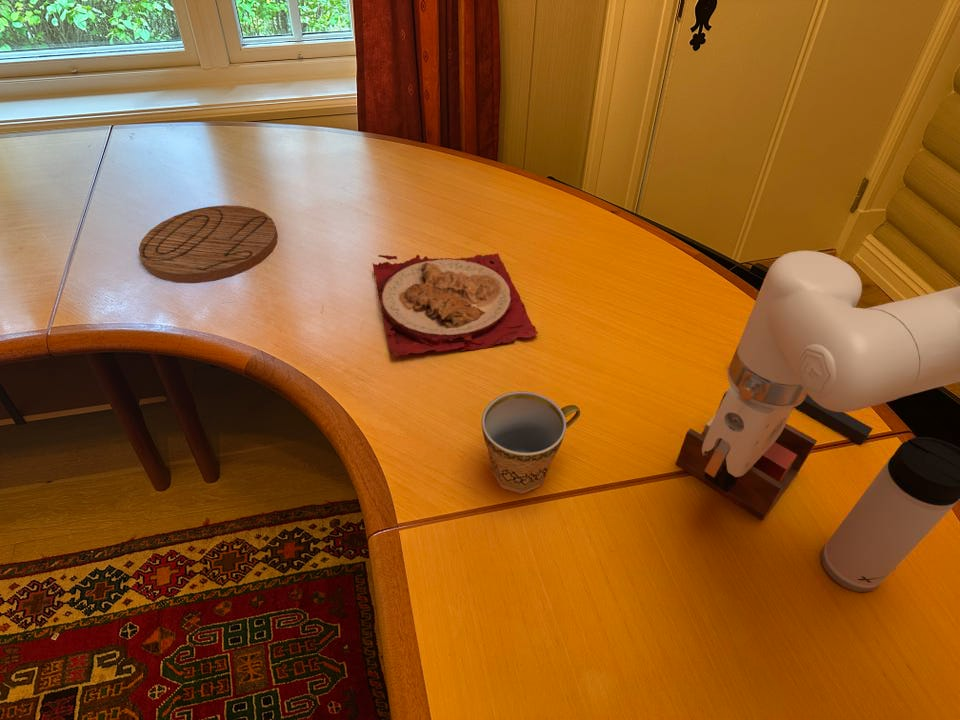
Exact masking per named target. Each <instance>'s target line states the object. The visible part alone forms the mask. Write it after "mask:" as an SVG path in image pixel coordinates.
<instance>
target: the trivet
mask: <svg viewBox="0 0 960 720" xmlns="http://www.w3.org/2000/svg"><path fill="white" fill-rule="evenodd" d="M278 236H279V234H278V229H277V227H276V224H275V222H274V220H273V218H272V217H270V216H269V215H268V214H267V213H265V212H264V211H261V210H259V209H256V208H253V207H248V206H243V205H230V204H229V205H228V204H224V205H213V206H204V207H201V208H196V209H195V208H194V209H191V210H187V211H185V212H182V213H178V214H176V215H173V216H171V217H170V218H168V219H165V220H163V221H161V222H160V223H157V225H155V226H154V227H152V228H151V229H150V230H149V231H147V233H146V234H145V235H144V237H143V238H142V239H141V241H140V243H139V246H138V253H139V258H140V260H141V263H142V264H143V266H144V268H145V269H146V270H147V271H148V272H149V274H151V275H153V276H155V277H157V278H159V279H161V280H165V281H169V282H174V283H186V284H187V283H188V284H195V283H196V284H198V283H205V282H214V281H218V280H222V279H225V278H226V279H227V278H230V277H233V276H236V275H239V274H241V273H243V272H246V271H249V270H250V269H252V268H253V267H256V266H257V265H259V264H261V263H262V262H263V261H265V260H266V259H267V258H268V257H269V256H270V255H271V254H272V253H273V251H274V250H275V248H276V246H277V244H278Z"/></svg>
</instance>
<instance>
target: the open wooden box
mask: <svg viewBox="0 0 960 720" xmlns="http://www.w3.org/2000/svg"><path fill="white" fill-rule="evenodd" d="M727 391H728V390H726V391H725V392H724V393H723V395H722V398H721V400H720V403H719V405H718V408H717V410H716V412H717V411H718V409H719V407H720V405H721V403H722V400H723V399H724V397H725V395H726V393H727ZM715 415H716V413H715V414H714V415H713V416H712V417H711V418H710V419H709V420H708V421H707V422H706V423H705V425H704V427H703V431H702V432H701V433H699V432H698V431H696V430H695V429H693V428H691V427H690V428H689V429H688V430H687V431H686V434H685V437H684V439H683V442H682V445H681V447H680V449H679V453H678V455H677V458H676V462H675V465H676V466H678V467H679V468H680V469H682V470H684V471H685V472H687V473H688V474H690V475H691V476H693V477H695V478H696V479H697V480H699V481H701V482H702V483H703V484H705V485H707V486H708V487H710V488H711V489H713V490H714V491H716V492H717V493H718V494H719V495H722V496H723V497H725V498H727V499H728V500H729V501H731V502H733V503H734V504H736V505H737V506H739V507H740V508H742V509H744V510H745V511H746V512H748V513H750V515H752V516H754V517H755V518H757V519H759V520H760V521H763V520H764V519H765V518H766V517H767V515H768V514H769V512H771V510H772V509H773V507H774V506H775V505H776V504H777V502H778V500H780V498H781V497H782V495H783V494H784V493H785V491H786V490H787V488H788V487H789V486H790V484H791V483H792V482H793V480H795V478H796V477H797V475H798V474H799V472H800V471H801V469H802V468H803V465H804V464H805V462H806V460H807V459H808V457H809V456H810V454H811V452H812V450H813V449H814V447H815V445H816V444H817V443H818V442H817V441H818V440H817V439H815V438H813V437H812V436H810V435H808V434H807V433H804V432H803V431H801V430H799V429H797V428H795V427H794V426H792V425H790V424H788V423H786V424H785V427H784V429H783V431H782V433H781V434H780V436H779V437H778V438H777V440H776V441H775V442H774V443H773V444H772V445H771V447H770V448H769V449H768V450H767V451H766V452H765V453H764V454H763V455H762V456H761V458H760V459H759V460H758V461H757V462H756V463H755V464H754V465H753V466H752V467H751V468H750V469H749V470H748V471H747V472H746V473H745V474H744V475H743V476H740V477H739V478H738V480H737V482H736V484H735V485H734V486H733V487H732V488H731V489H730V491H729V492H725V491H724V490H722V489H721V488H719V487H718V486H716V485H714V484H713V483H712V482H711V481H709V480H708V479H706V478H705V473H706V472H705V471H704V470H705V468H706V467H707V465H708V463H709V461H710V459H711V457H712V456H713V453H714V450H715V448H714V449H713V450H712V451H711V452H710V453H709V454H708V455H705V456H703V454H702V446H703V443H704V440H705V437H706V435H707V432H708V430H709V428H710V426H711V424H712V421H713V419H714V417H715Z"/></svg>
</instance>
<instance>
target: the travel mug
mask: <svg viewBox="0 0 960 720" xmlns="http://www.w3.org/2000/svg"><path fill="white" fill-rule="evenodd" d="M959 501H960V447H958V446H956V445H955V444H952V442H948V441H945V440H942V439H938V438H934V437H927V436H914V437H913V438H909V439H908V440H907V441H903V442H902V443H901V444H900V445H899V446H898V448H897V449H896V450H895V452H894V453H893V454H892V455H891V457H889V459H888V460H887V461H886V463H885V464H884V465H883V467H882V468H881V469H880V471H879V472H878V473H877V474H876V476H875V478H874V479H873V480H872V481H871V482H870V484H869V485H868V487H867V488H866V489H865V491H864V492H863V493H862V495H861V496H860V498H859V499H858V500H857V501H856V502H855V504H854V506H853V507H852V508H851V509H850V511H849V512H848V514H847V515H845V518H844V519H843V520H842V522H841V523H840V524H839V525H838V527H837V528H836V530H835V531H834V533H832V535H831V536H830V538H829V539H828V541H827V542H825V544H824V546H823V548H822V549H821V552H820V560H821V565H822V566H823V568H824V570H825V571H826V573H827V574H828V576H830V578H831V579H832V580H833V581H834V582H836V583H837V584H839V585H840V586H842V587H843V588H846V589H848V590H850V591H853V592H858V593H859V592H860V593H869V592H872V591H874V590H876V589H877V588H878V587H879V586H880V585H881V584H882V583H883V582H884V581H885V580H886V579H887V578H888V577H889V576H890V575H891V573H892V572H893V571H894V570H896V568H897V567H898V566H899V565H900V564H901V563H902V562H903V560H905V559H906V557H908V555H909V554H910V553H911V552H912V551H913V550H914V549H915V548H916V547H917V546H918V545H919V544H920V542H921V541H922V540H923V539H924V538H925V537H926V536H927V535H928V534H929V533H930V532H931V531H932V530H933V529H934V528H935V527H936V526H937V525H938V524H939V522H940V521H941V520H942V519H944V517H945V516H946V515H947V514H948V513H949V512H950V511H951V510H952V509H953V507H955V505H956V504H957V503H958V502H959Z"/></svg>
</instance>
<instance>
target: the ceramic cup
mask: <svg viewBox="0 0 960 720" xmlns="http://www.w3.org/2000/svg"><path fill="white" fill-rule="evenodd" d="M573 413H574V415H573V416H572V417H571V418H570V419H569V420H568V421H567V419H566V418H567V417H568V416H570V415H572V414H573ZM580 415H581V409H580V408H579V407H578V406H577V405H575V404H569V405H565V406H564V407H562V408H560V406H559V405H558V404H557V403H556V402H555V401H553V400H552V399H550V398H549V397H547V396H545V395H542V394H539V393H537V392H533V391H523V390H522V391H521V390H520V391H519V390H518V391H512V392H511V391H510V392H507V393H503V394H501V395H498V396H497V397H496V398H493V400H491V401H489V403H488V404H487V405H486V407H485V408H484V411H483V413H482V416H481V431H482V435H483V439H484V444H485V446H486V449H487V454H488V458H489V461H490V465H491V470H492V473H493V475H494V477H495V479H496V480H497V482H498V484H499V486H500V487H501V489H504V490H507V491H510V492H513V493H517V494H521V495H523V494H526V493H528V492H532V491H534V490H536V489H538V488H540V487H542V485H543V483H544V480H545V479H546V476H547V474H548V470H549V469H550V466H551V464H552V462H553V460H554V459H555V457H556V455H557V453H558V451H559V450H560V447H561V445H562V442H563V440H564V437H565V435H566V431H567V429H568V428H569V427H571V426H572V425H573V424H574V423H576V422H577V420H578V419H579V418H580Z"/></svg>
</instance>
